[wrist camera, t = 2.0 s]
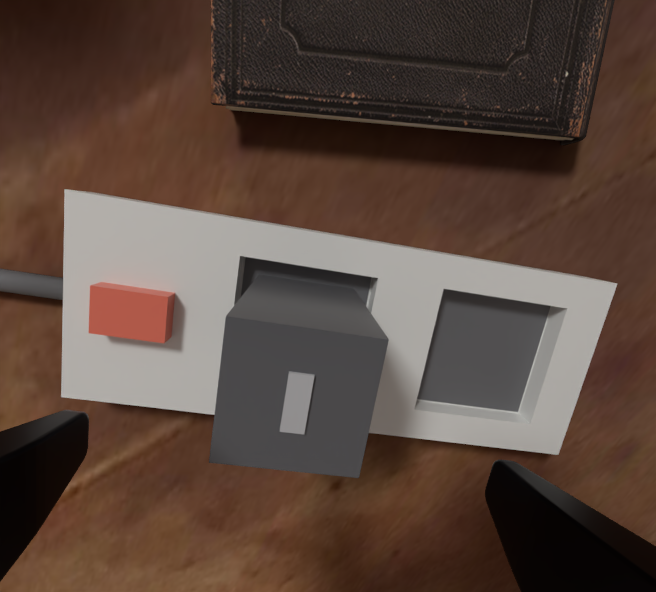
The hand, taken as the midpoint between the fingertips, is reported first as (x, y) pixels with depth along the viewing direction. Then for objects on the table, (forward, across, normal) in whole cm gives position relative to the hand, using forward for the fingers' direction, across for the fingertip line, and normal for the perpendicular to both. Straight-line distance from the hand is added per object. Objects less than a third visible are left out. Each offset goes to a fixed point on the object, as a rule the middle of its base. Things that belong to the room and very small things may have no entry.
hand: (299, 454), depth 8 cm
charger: (+9, 0, 0) cm, 9 cm away
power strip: (+10, +3, 0) cm, 11 cm away
